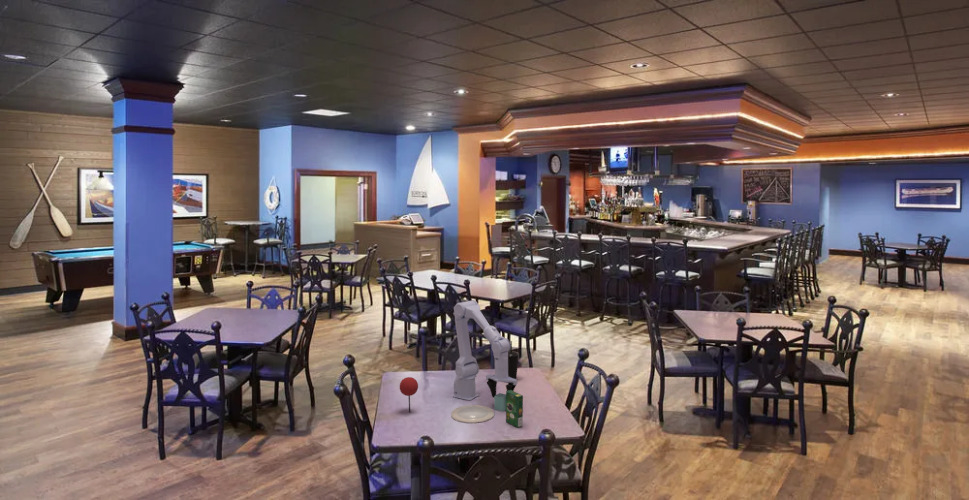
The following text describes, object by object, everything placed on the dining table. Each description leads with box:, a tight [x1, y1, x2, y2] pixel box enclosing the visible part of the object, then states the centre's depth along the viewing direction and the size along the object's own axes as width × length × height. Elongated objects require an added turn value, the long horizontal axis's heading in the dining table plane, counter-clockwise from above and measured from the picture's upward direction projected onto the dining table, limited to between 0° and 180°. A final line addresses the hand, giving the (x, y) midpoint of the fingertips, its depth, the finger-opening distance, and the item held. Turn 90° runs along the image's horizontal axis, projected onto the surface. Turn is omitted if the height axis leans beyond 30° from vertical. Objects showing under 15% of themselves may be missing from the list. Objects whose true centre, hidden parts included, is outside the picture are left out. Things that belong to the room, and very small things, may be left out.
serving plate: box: [450, 404, 495, 424], centre depth 245 cm, size 18×18×1 cm
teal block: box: [493, 392, 506, 412], centre depth 252 cm, size 4×4×6 cm
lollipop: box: [399, 376, 419, 413], centre depth 249 cm, size 8×8×15 cm
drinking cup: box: [508, 340, 520, 379], centre depth 288 cm, size 8×8×20 cm
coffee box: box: [505, 390, 524, 429], centre depth 234 cm, size 8×3×13 cm, turn 35°
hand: (501, 398), depth 251 cm, fingers open, 7 cm apart
